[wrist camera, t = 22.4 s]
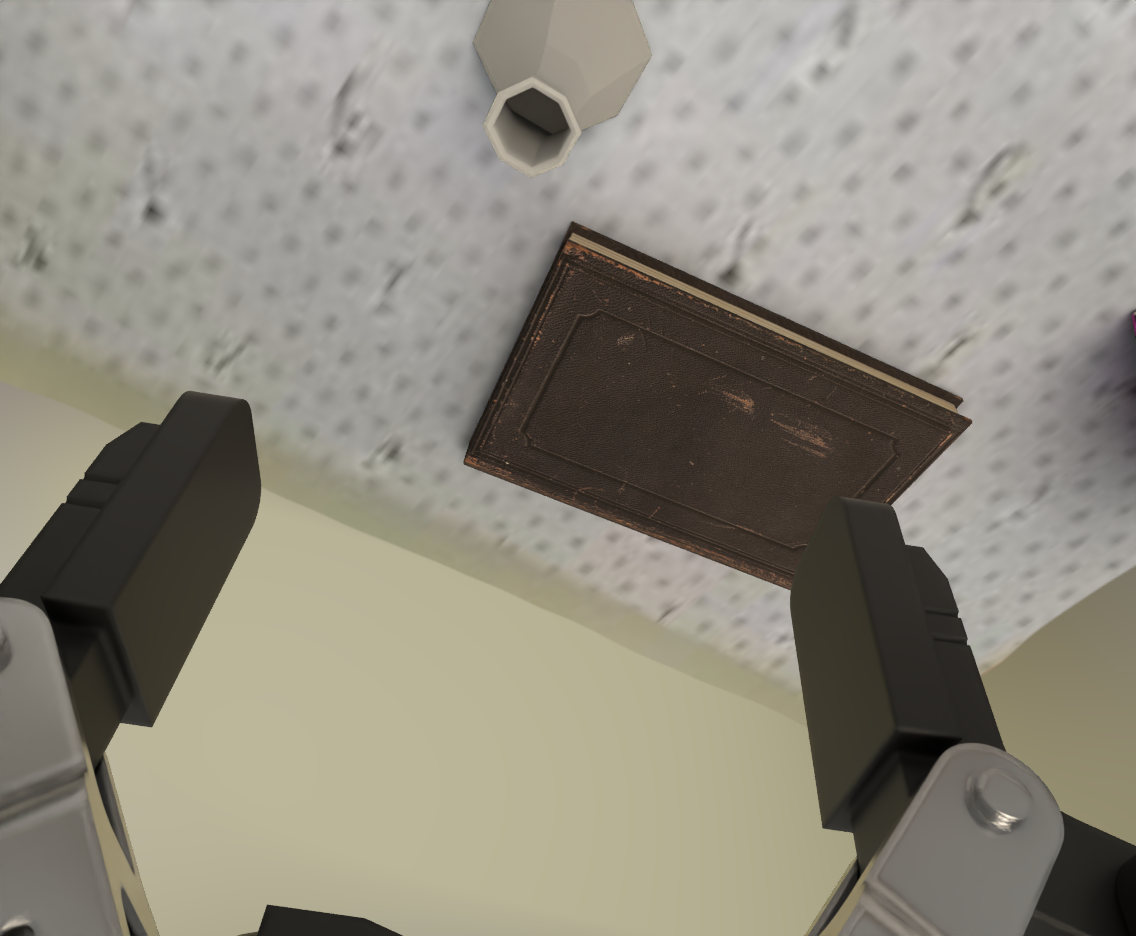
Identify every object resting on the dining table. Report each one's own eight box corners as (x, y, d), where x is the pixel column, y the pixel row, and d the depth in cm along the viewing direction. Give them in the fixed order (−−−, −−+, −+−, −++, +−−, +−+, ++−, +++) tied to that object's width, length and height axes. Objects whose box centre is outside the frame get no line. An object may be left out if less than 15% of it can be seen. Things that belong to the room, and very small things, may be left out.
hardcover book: (572, 220, 42) (567, 241, 40) (961, 397, 46) (972, 423, 44) (468, 444, 52) (460, 469, 50) (795, 572, 56) (798, 599, 54)
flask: (566, -95, 33) (532, -44, 26) (682, 55, 36) (682, 140, 29) (444, 39, 37) (383, 119, 29) (559, 165, 40) (530, 266, 32)
